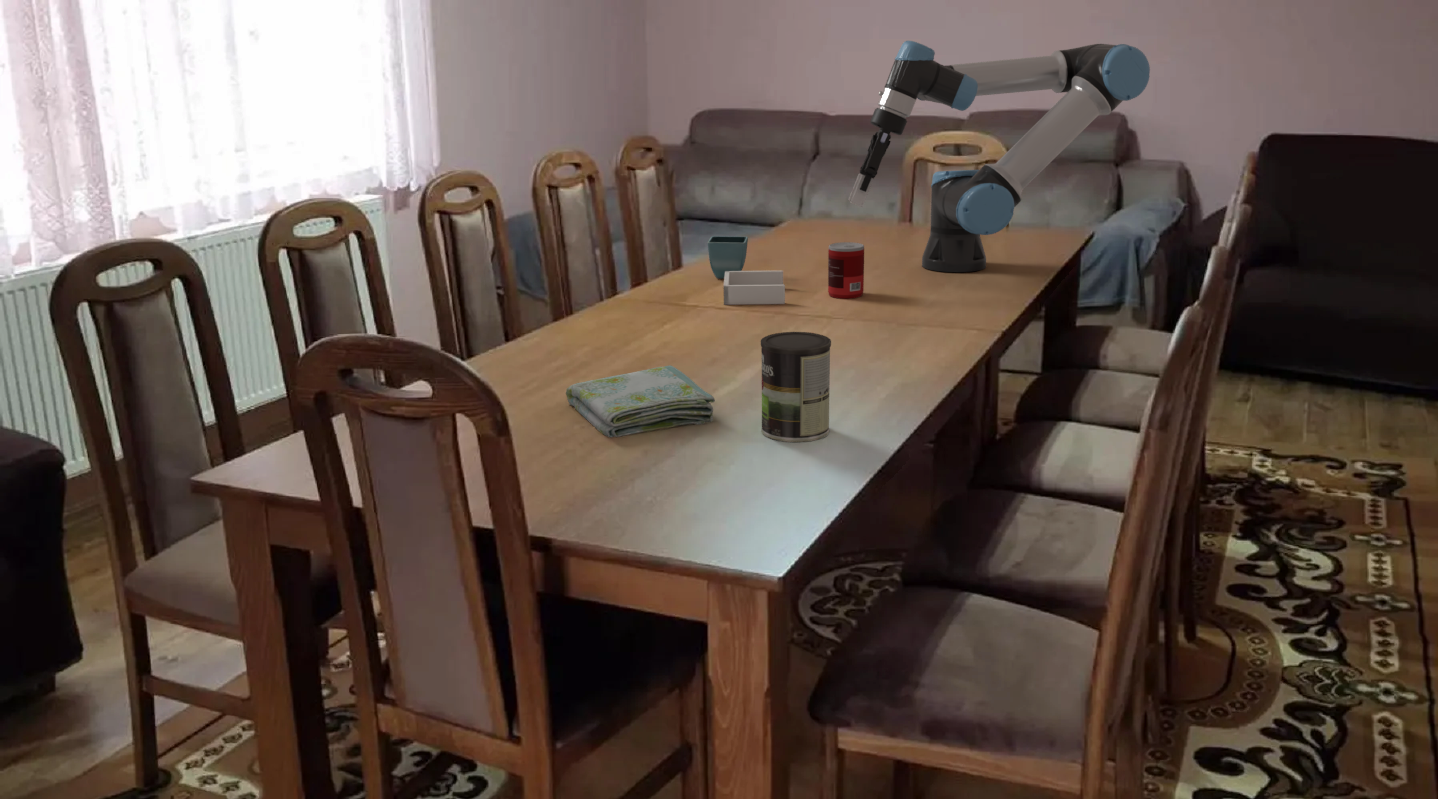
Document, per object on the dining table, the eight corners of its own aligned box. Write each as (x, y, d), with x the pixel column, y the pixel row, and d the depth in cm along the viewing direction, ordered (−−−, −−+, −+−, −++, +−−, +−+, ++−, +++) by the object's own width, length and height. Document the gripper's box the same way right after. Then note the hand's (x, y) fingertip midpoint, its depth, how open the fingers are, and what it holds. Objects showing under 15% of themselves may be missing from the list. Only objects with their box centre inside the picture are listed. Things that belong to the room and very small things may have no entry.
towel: (607, 443, 188) (606, 410, 187) (565, 404, 207) (563, 374, 205) (720, 425, 195) (720, 393, 193) (669, 390, 214) (669, 360, 212)
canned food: (867, 292, 281) (867, 242, 278) (858, 300, 274) (859, 249, 271) (833, 290, 284) (833, 241, 281) (824, 298, 277) (824, 247, 273)
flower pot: (748, 273, 304) (748, 235, 301) (745, 281, 295) (745, 242, 292) (711, 273, 304) (711, 235, 302) (707, 280, 296) (707, 242, 293)
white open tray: (783, 288, 287) (783, 270, 286) (784, 303, 272) (784, 285, 270) (725, 288, 287) (724, 271, 286) (723, 304, 272) (723, 286, 271)
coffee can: (765, 444, 185) (764, 350, 181) (757, 422, 195) (756, 332, 191) (835, 441, 186) (836, 347, 182) (824, 419, 196) (824, 330, 192)
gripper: (873, 108, 292) (837, 195, 296) (879, 104, 267) (841, 199, 271) (903, 120, 292) (867, 207, 296) (913, 117, 267) (873, 212, 271)
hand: (854, 204), depth 284 cm, fingers open, 13 cm apart
